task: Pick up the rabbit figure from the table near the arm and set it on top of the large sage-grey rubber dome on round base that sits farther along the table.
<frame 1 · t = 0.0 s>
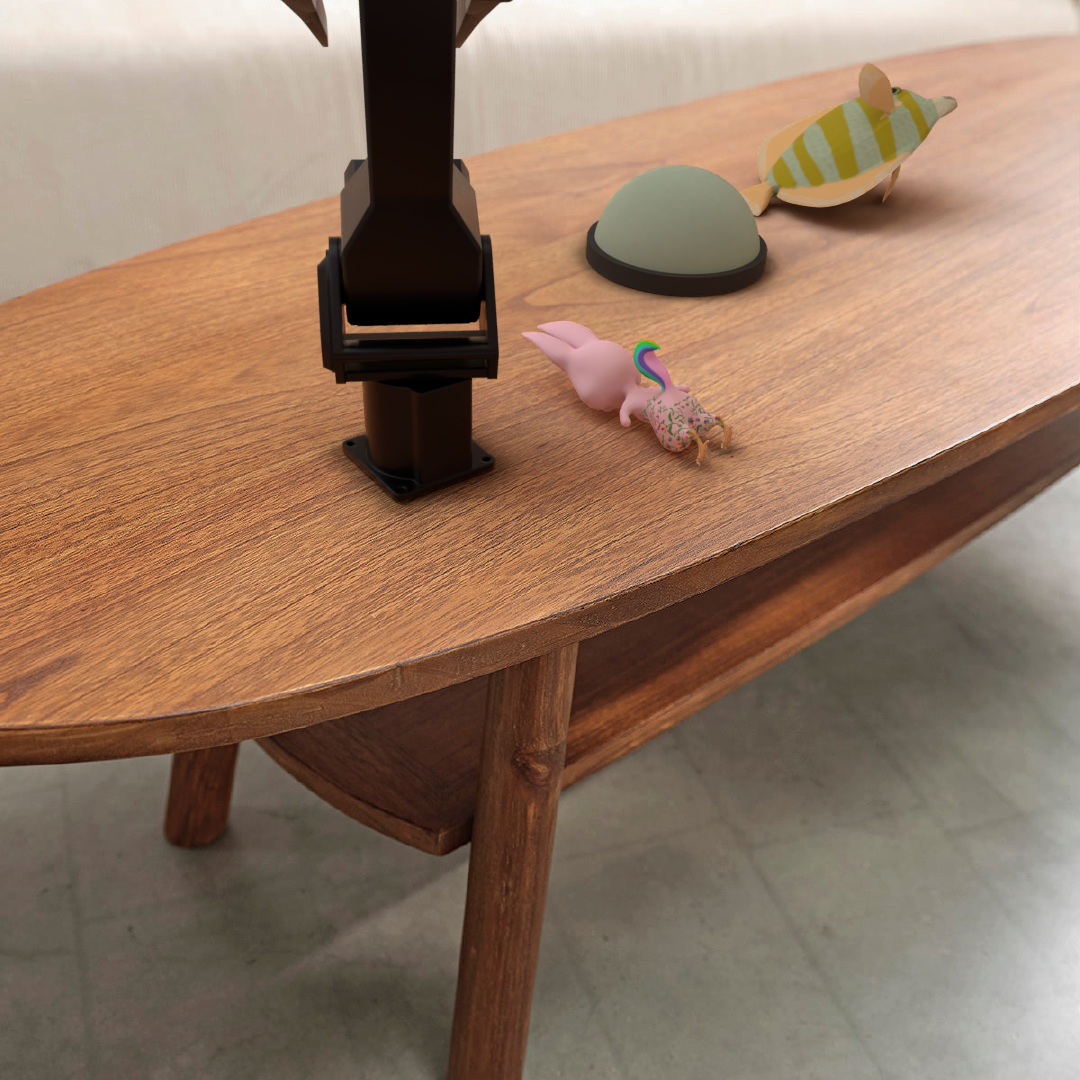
hand: (391, 42, 79), 15 cm above the table, tool tilted 35°, fingers open, 9 cm apart
decorative fish sculpture: (826, 200, 100), on the table
rabbit figure: (617, 415, 69), on the table
dome on round base: (674, 258, 88), on the table
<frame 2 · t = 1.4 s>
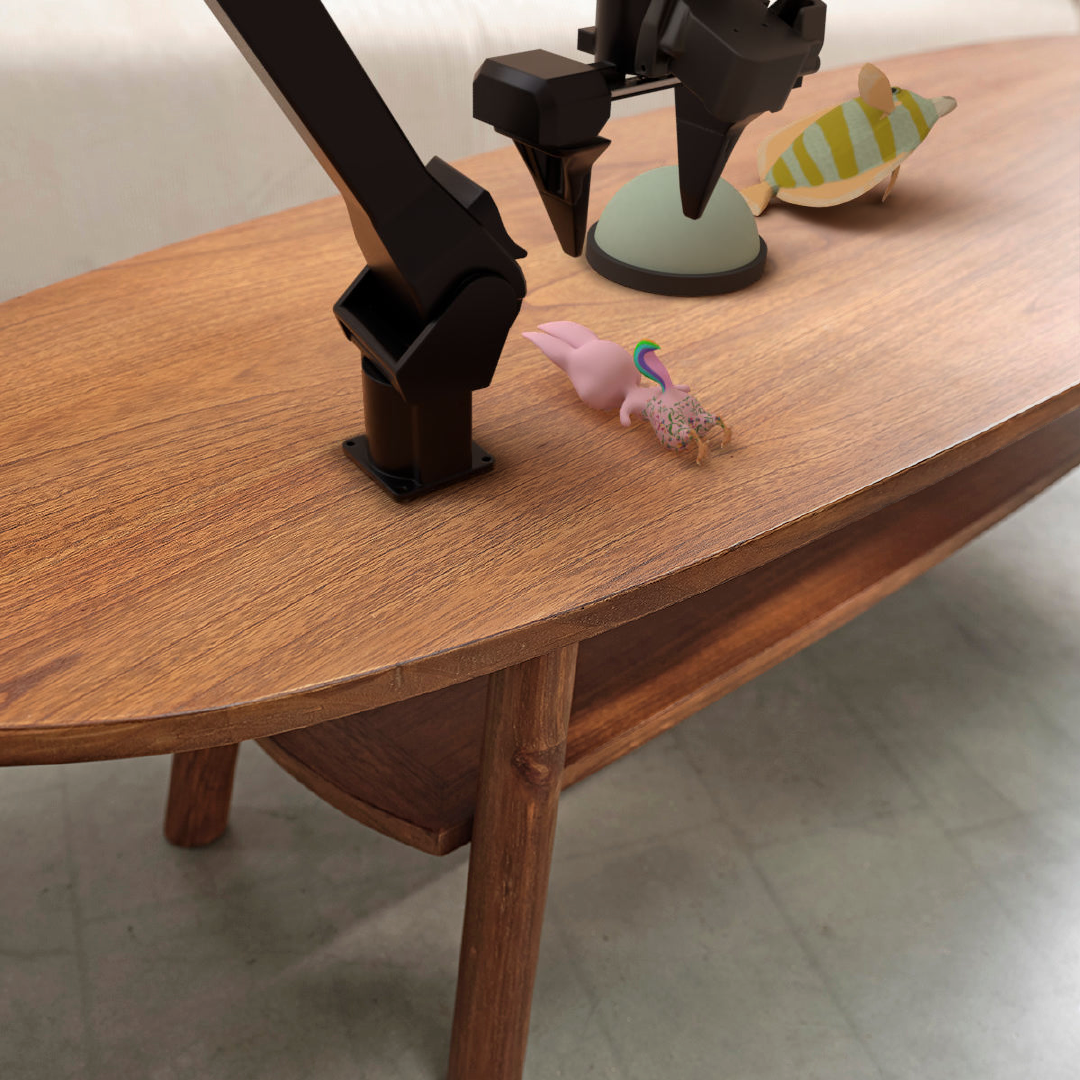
hand: (634, 235, 62), 11 cm above the table, tool pointing down, fingers open, 9 cm apart
nothing on the table moved.
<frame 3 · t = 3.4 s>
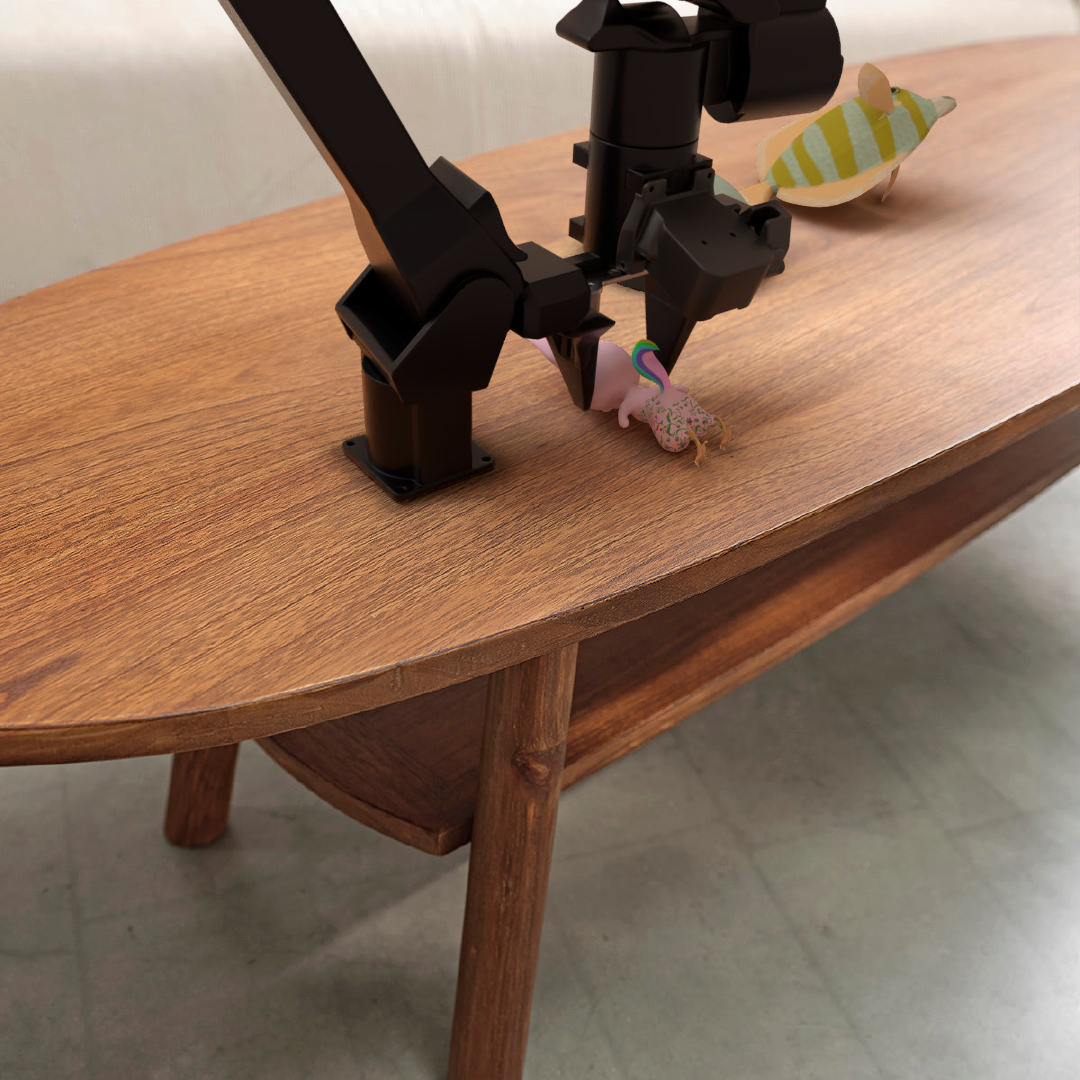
hand: (620, 394, 68), 1 cm above the table, tool pointing down, fingers closed on rabbit figure, 6 cm apart
rabbit figure: (616, 415, 68), on the table, touching gripper
everything else where it was.
when the fingers open (8 cm above the table, at t = 7.7 s): rabbit figure stays where it is, resting on dome on round base.
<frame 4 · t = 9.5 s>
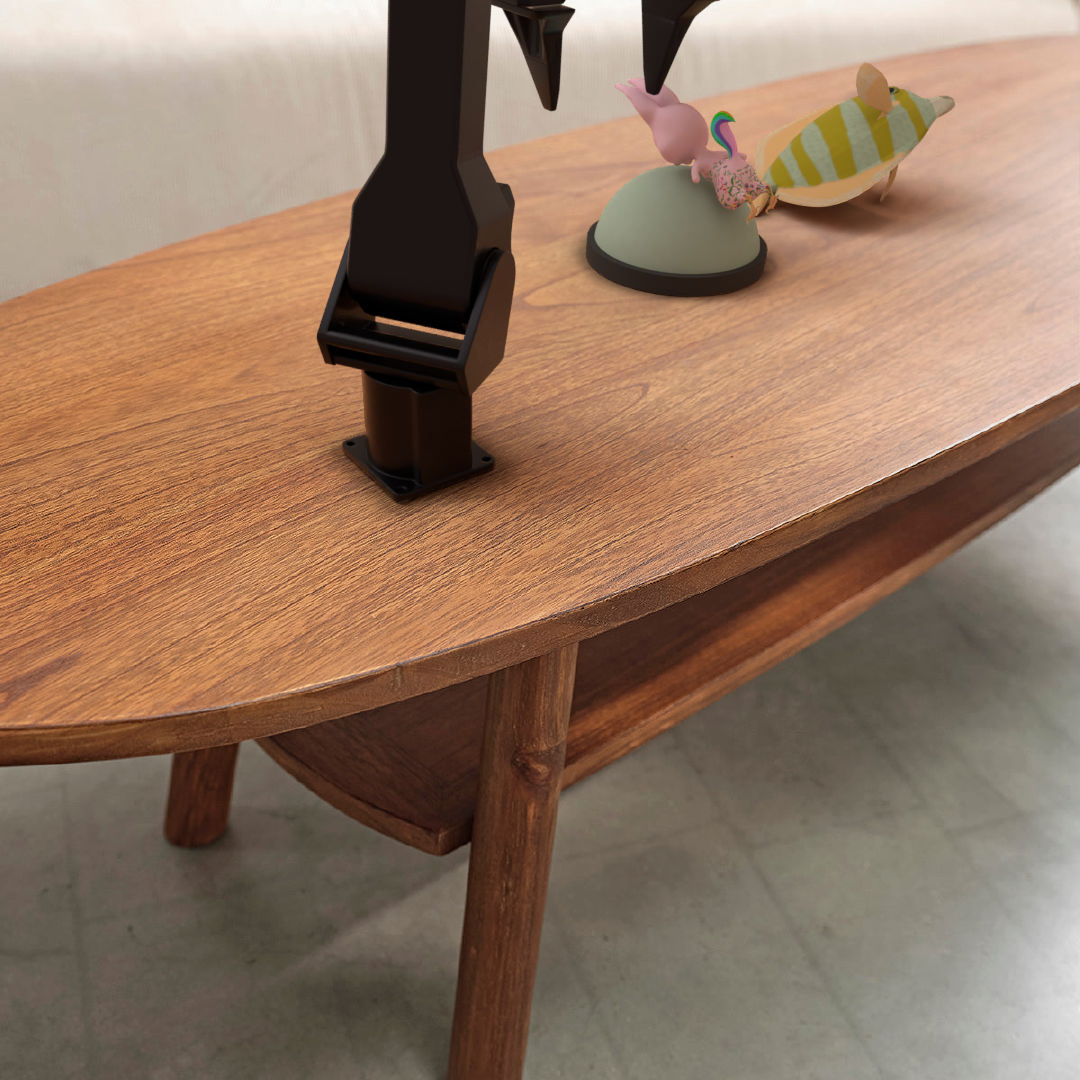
hand: (602, 101, 79), 12 cm above the table, tool pointing down, fingers open, 9 cm apart
rabbit figure: (683, 169, 83), point 7 cm above the table, touching dome on round base, gripper
everything else where it was.
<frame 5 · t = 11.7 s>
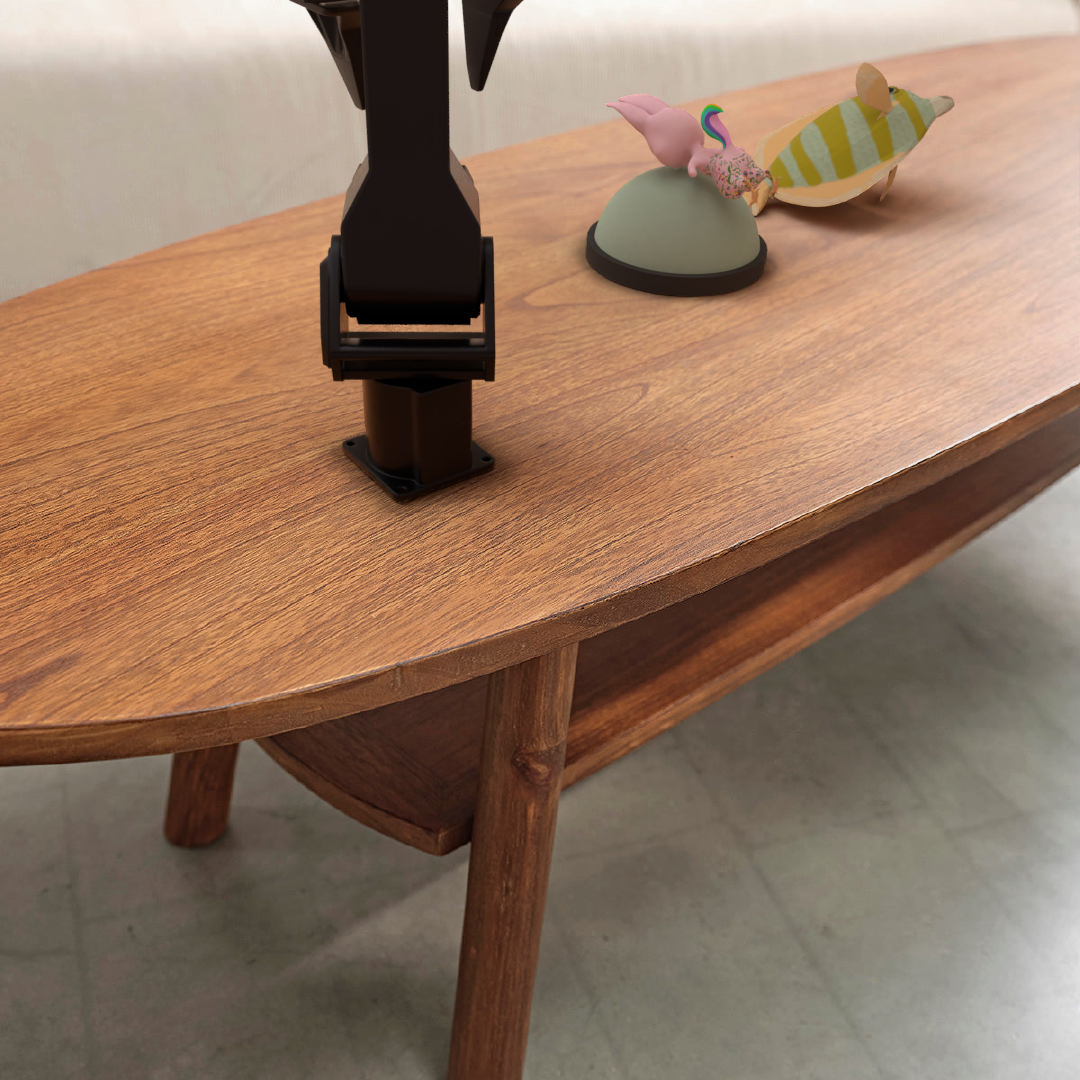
hand: (420, 99, 77), 12 cm above the table, tool pointing down, fingers open, 9 cm apart
rabbit figure: (684, 172, 84), point 7 cm above the table, touching dome on round base
everything else where it was.
at the end: rabbit figure 0.3 cm off-centre on the dome on round base, point 6.8 cm above the dome on round base's base; rabbit figure touching dome on round base; the gripper is holding nothing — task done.
